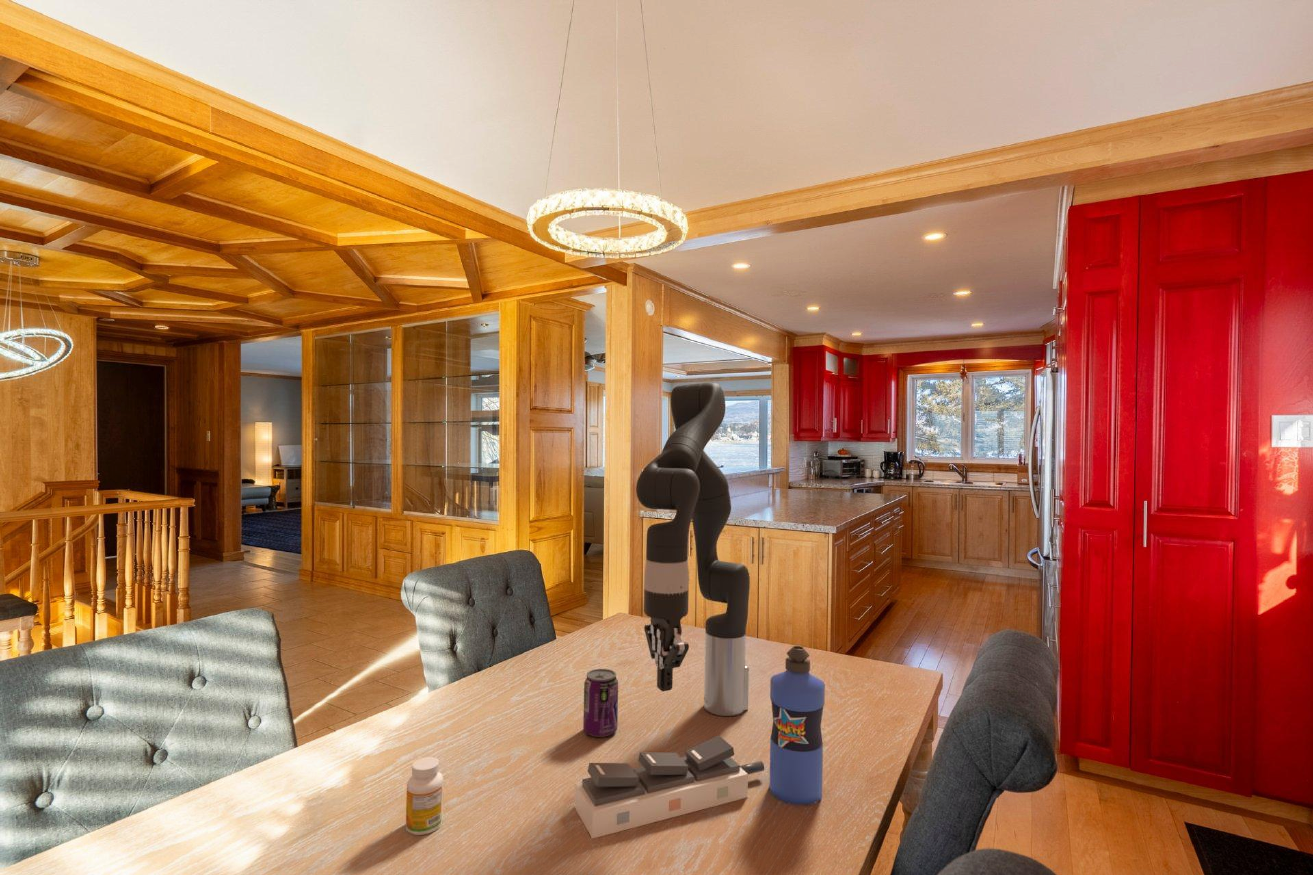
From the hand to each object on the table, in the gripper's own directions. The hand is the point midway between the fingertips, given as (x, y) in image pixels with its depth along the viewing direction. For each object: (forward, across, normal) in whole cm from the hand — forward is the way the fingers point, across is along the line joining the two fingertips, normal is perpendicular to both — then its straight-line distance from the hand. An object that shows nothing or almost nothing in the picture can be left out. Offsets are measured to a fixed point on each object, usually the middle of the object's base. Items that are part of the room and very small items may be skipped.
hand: (664, 689), depth 105 cm
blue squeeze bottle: (+19, -6, -23) cm, 31 cm away
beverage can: (+19, +28, +1) cm, 34 cm away
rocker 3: (+12, 0, -9) cm, 15 cm away
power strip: (+19, 0, -3) cm, 19 cm away
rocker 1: (+12, 0, +9) cm, 15 cm away
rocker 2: (+12, 0, 0) cm, 12 cm away
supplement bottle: (+19, +9, +37) cm, 43 cm away
